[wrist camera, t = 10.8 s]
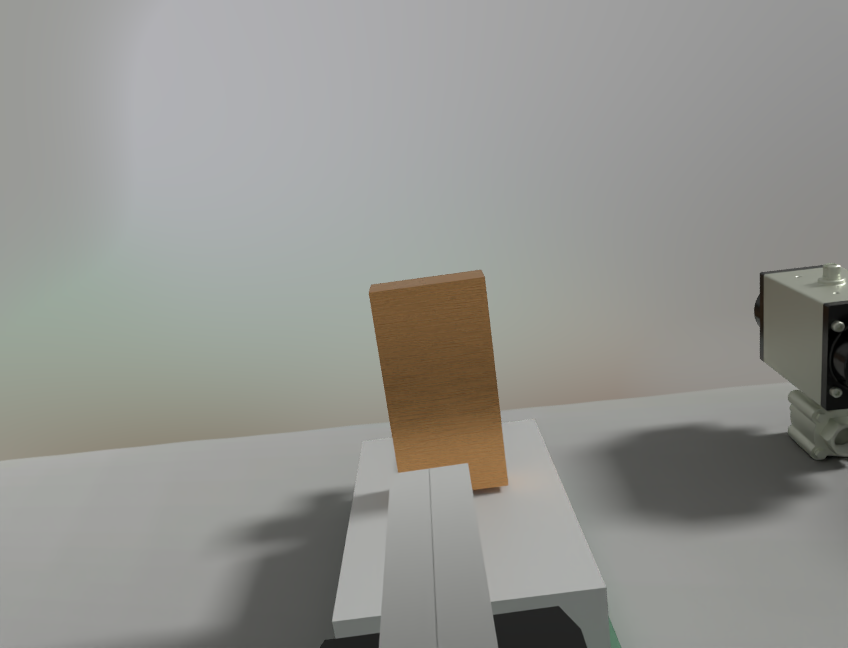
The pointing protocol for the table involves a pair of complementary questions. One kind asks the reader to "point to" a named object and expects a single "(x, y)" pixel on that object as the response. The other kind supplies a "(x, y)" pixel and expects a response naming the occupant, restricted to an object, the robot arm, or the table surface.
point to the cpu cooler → (485, 542)
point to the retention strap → (440, 374)
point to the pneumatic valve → (809, 351)
